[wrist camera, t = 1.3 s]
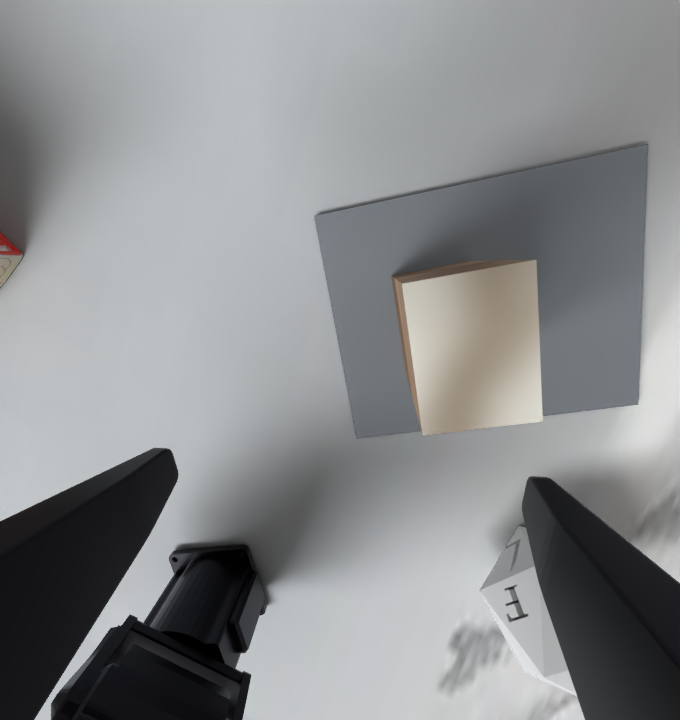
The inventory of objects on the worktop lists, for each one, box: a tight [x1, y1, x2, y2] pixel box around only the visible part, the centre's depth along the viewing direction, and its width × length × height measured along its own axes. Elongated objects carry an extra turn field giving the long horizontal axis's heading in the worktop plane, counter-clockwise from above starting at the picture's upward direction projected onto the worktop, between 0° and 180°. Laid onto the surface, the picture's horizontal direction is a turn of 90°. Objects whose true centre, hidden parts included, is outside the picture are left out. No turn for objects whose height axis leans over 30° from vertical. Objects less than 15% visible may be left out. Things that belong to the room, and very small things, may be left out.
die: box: [480, 526, 577, 696], centre depth 21 cm, size 8×9×10 cm
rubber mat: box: [314, 144, 648, 439], centre depth 20 cm, size 17×14×1 cm
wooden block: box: [391, 260, 543, 436], centre depth 17 cm, size 4×6×8 cm
